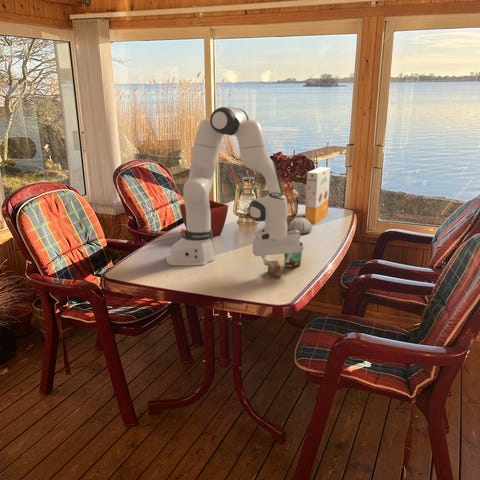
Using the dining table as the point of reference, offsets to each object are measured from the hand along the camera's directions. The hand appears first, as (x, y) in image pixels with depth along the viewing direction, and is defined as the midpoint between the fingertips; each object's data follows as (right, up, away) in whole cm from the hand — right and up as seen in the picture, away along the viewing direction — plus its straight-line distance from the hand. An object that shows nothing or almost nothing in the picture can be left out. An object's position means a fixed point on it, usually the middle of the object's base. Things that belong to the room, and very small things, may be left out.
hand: (276, 263), depth 201 cm
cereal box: (+31, +23, +89) cm, 97 cm away
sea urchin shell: (+18, +14, +63) cm, 67 cm away
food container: (+9, -2, +12) cm, 15 cm away
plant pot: (-35, +12, +55) cm, 66 cm away
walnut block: (-1, -5, +1) cm, 5 cm away
